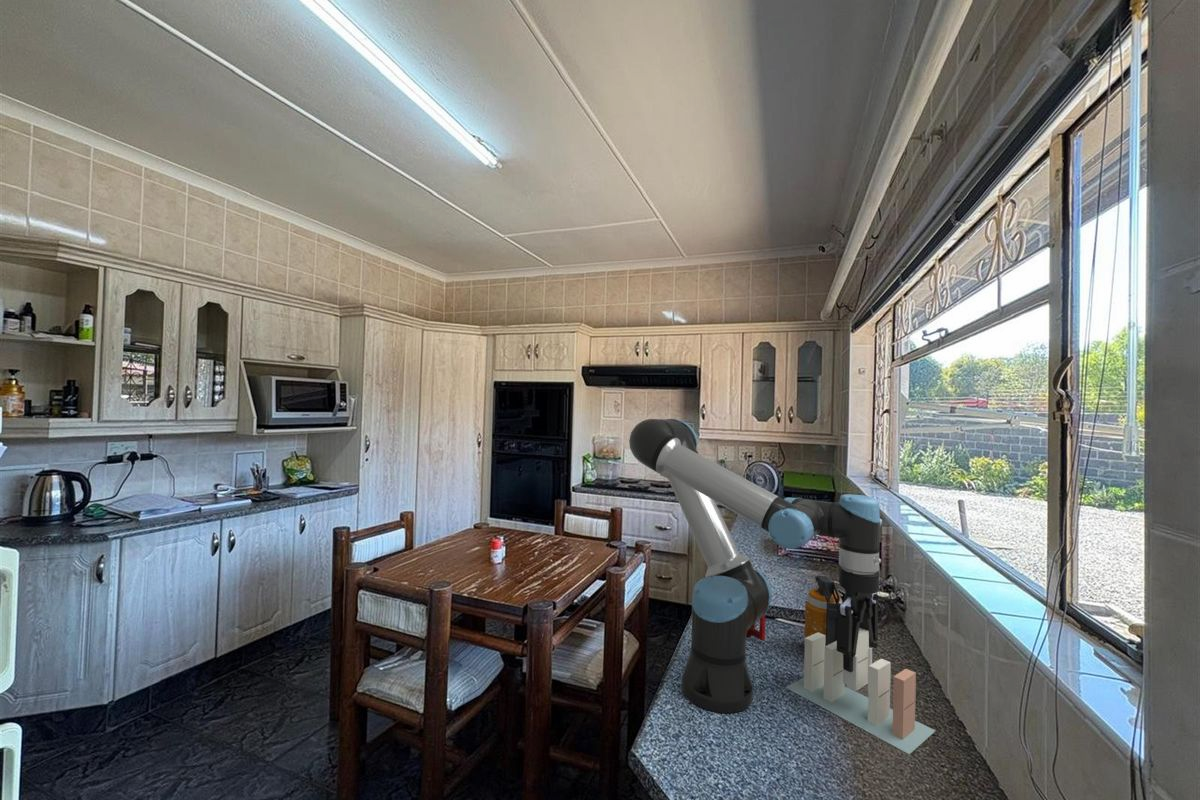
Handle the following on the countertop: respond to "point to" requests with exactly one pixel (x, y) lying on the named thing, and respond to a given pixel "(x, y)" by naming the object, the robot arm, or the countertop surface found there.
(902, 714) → the end domino
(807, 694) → the mat
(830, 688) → the domino
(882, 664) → the domino
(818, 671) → the domino
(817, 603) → the canister
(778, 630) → the countertop surface
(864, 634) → the domino
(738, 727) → the countertop surface
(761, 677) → the countertop surface
